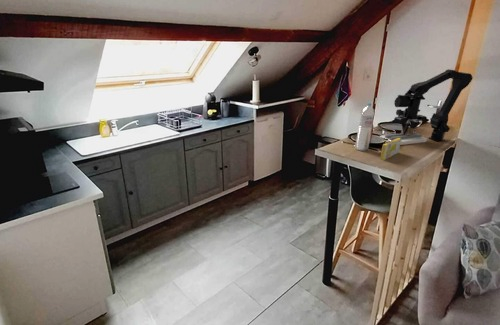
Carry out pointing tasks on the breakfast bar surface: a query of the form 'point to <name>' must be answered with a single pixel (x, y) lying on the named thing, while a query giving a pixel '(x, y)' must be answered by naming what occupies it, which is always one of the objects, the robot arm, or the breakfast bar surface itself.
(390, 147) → the candy box
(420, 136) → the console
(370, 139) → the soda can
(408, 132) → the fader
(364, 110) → the water bottle
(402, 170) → the breakfast bar surface
